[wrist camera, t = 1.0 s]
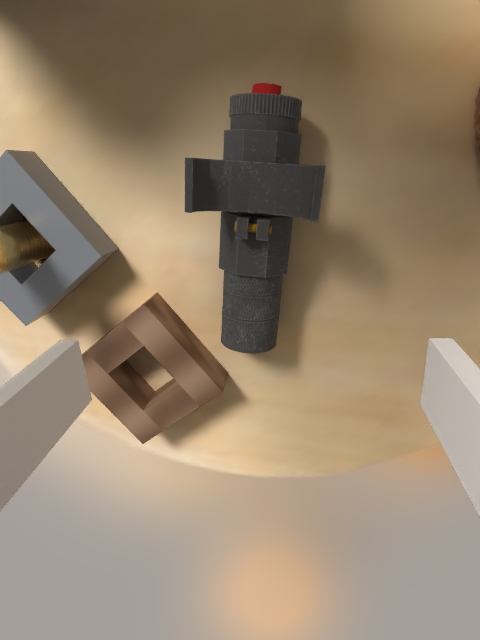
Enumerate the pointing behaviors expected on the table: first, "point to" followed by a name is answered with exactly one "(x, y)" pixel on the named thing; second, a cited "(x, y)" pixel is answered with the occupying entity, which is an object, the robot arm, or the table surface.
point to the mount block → (46, 236)
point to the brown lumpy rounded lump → (477, 118)
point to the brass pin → (21, 246)
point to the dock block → (171, 352)
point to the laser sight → (255, 209)
